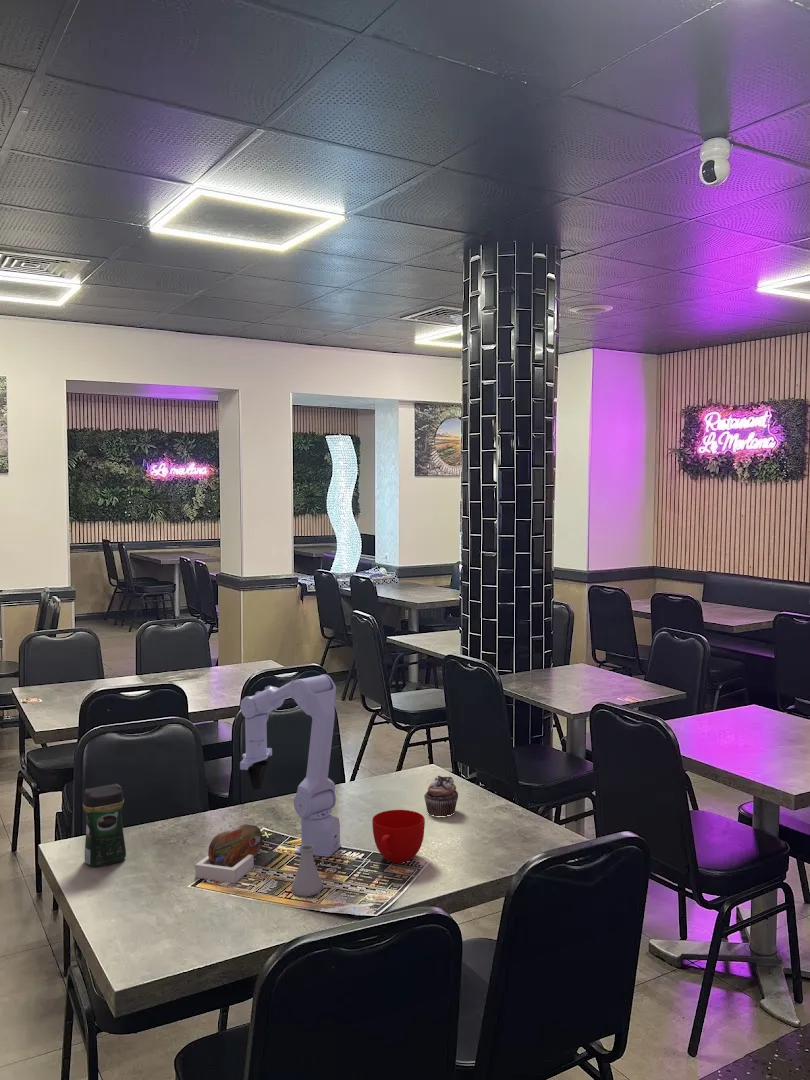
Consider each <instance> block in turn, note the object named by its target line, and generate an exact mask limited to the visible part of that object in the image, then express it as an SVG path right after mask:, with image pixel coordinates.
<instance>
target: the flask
mask: <svg viewBox="0 0 810 1080" xmlns="http://www.w3.org/2000/svg"><path fill="white" fill-rule="evenodd" d="M300 846H301V845H300ZM300 846H299V847H300ZM299 847H298V848H299ZM313 849H314V846H312V845H307V844H306V845H302V846H301V847H300V848H299V850H300V851H301V854H300V857H299V858H300V859H299V864H298V867H297V871H296V874H295V877H294V880H293V881H292V885H291V889H290V892H291V891H292V892H293V894H294V893H295V894H294V895H296V896H297V895H303V896H302V897H307V896H310V897H312V896H311V895H313V896H315V895H314V894H316V893H318V894H320V893H321V892H322V891H323V890H324V888H325V886H324V884H323V880H322V878H321V876H320V874H319V871H318V869H317V866H316V863H315V859H314V855H313ZM323 887H324V888H323ZM322 889H323V890H322ZM321 890H322V891H321ZM320 891H321V892H320ZM292 892H291V893H292ZM319 892H320V893H319ZM316 895H317V894H316Z"/></svg>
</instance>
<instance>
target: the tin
mask: <svg viewBox="0 0 810 1080" xmlns="http://www.w3.org/2000/svg"><path fill="white" fill-rule="evenodd" d="M262 844H263V833H262V830H260V828H259V826H256V825H255V824H248V823H247V824H242V825H240V826H239V825H238V826H236V827H235V828H234V827H233V828H231V829H228V830H226V831H224V832H223V831H222V832H220V833H218V834H217V835H215V836H214V837H213V838H212V839H211V842H210V843H209V846H208V850H207V853H208V855H207V856H209V861H210V863H211V864H212V865H217V866H224V867H231V868H232V867H233V866H235V865H236V864H237V863H239V862H240V861H241V860H243V859H244V858H245V857H246V856H248V855H253V859H254V858H255V857H256V856H257V855H258V854H259V853H260V851H261V849H262Z"/></svg>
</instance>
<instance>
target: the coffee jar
mask: <svg viewBox="0 0 810 1080" xmlns="http://www.w3.org/2000/svg"><path fill="white" fill-rule="evenodd" d="M82 801H83V802H82V808H83V811H84V813H85V818H86V819H85V821H86V822H85V823H86V824H85V825H86V826H85V827H86V828H85V840H84V841H85V842H84V862H85V864H86V865H87V866H91V867H93V868H95V867H96V868H98V867H103V865H104V866H108V865H112V864H115V863H119V862H122V861H123V860H124V859H126V858H127V857H126V856H127V849H126V841H125V835H124V827H123V818H122V813H123V812H122V811H123V807H124V804H125V798H124V792H123V789H122V786H121V785H120V784H119V783H113V784H107V785H101V786H96V787H91V788H85V789H84V791H83V799H82Z"/></svg>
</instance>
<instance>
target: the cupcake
mask: <svg viewBox="0 0 810 1080" xmlns="http://www.w3.org/2000/svg"><path fill="white" fill-rule="evenodd" d="M454 783H455V780H454V779H453V777H451V776H440V775H437V776H435V778H434V781H433V782H431V783H430V785H429V786H427V791H426V792H425V793H424V796H423V797H424V802H425V808H426V812H428V813H429V814H430V815H434V816H447V815H451V814H453V813H454V812H455V813H456V807H457V802H458V798H459V792H458V791H457V786H456V784H454ZM428 813H427V814H428ZM455 813H454V814H455ZM430 815H429V816H430Z"/></svg>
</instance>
